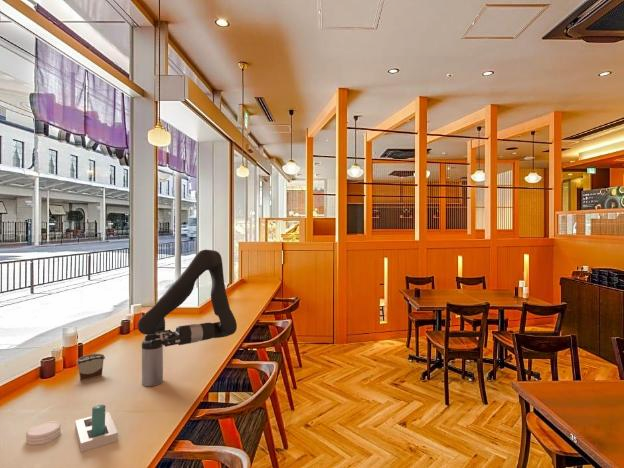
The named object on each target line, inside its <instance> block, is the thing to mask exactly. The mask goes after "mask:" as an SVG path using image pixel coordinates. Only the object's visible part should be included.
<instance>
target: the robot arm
mask: <svg viewBox="0 0 624 468" xmlns="http://www.w3.org/2000/svg"><path fill="white" fill-rule="evenodd" d="M206 271H208V272H209V274H210V278H211V290H210V300H211V305H212V309H213V312H214V314H215V316H217V317H218V318H219V319H218V320H219V321H217V322H204V323H191V324H186V325H179V326H177V327H176V328H175V331H171V329H167V330H166V319H165V318H166V317H167V315H169V314H170V313H172V312H173V311H174V310H176V309H177V308H179V307H180V306H181V305H182V304H183V303H184V302H185V301H186V300H187V299H188V298H189V296H190V295H191V294H192V293H193V290H194V287H195V284H196V282H197V280H198V279H199V277H201V276H202V275H203V274H204V273H205V272H206ZM236 320H237V319H236V318H235V315H234V313H233V312H232V310H231V307H230V302H229V299H228V295H227V292H226V285H225V277H224V266H223V259H222V256H221V254H220V252H219V251H216V250H213V249H202V250H200V251H198V252H197V254H196V255H195V256H194V257H193V259H192V260H191V262H190V263H189V265H188V266H187V267H186V268H185V269H184V270H183V272H182V273H181V274H180V276H179V277H177V278H176V280H175V281H174V282H173V283H172V284H171V285H170V286H169V287H168V288H167V290H166V291H165V292H164V293H163V294H162V296H161V297H160V298H159V299H158V301H156V303H155V304H154V305H153V306H152V307H151V308H149V310H147V312H146V313H145V314H144V315H142V316H141V317H140V318H139V320H138V322H137V328H138V329H137V330H138V331H139V333H141V334H142V335H144V339H143V340H142V342H141V385H142V386H143V387H155V386H158V385H160V384H162V383H163V382H164V380H163V379H164V369H163V368H164V347H165V348H167V347H171V346H176V345H178V346H183V345H188V344H193V343H194V344H195V343H198V342H202V341H207V340H211V339H221V338H226V337H229V336H232V335H234V334H235V333H236V331H237V329H238V325H237V321H236Z"/></svg>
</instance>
